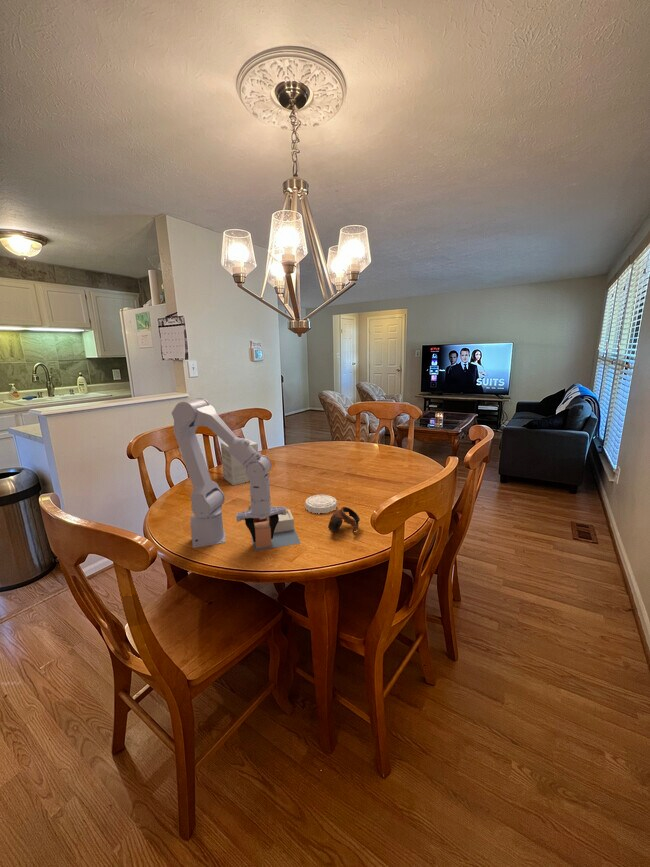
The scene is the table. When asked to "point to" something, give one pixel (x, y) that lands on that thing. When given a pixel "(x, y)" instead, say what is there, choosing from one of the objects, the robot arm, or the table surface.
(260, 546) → the terracotta block
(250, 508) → the kendama
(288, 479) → the table surface
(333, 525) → the brown looped piece
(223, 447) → the supplement box
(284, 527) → the base block
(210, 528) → the robot arm
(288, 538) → the mat
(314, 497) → the mooncake
